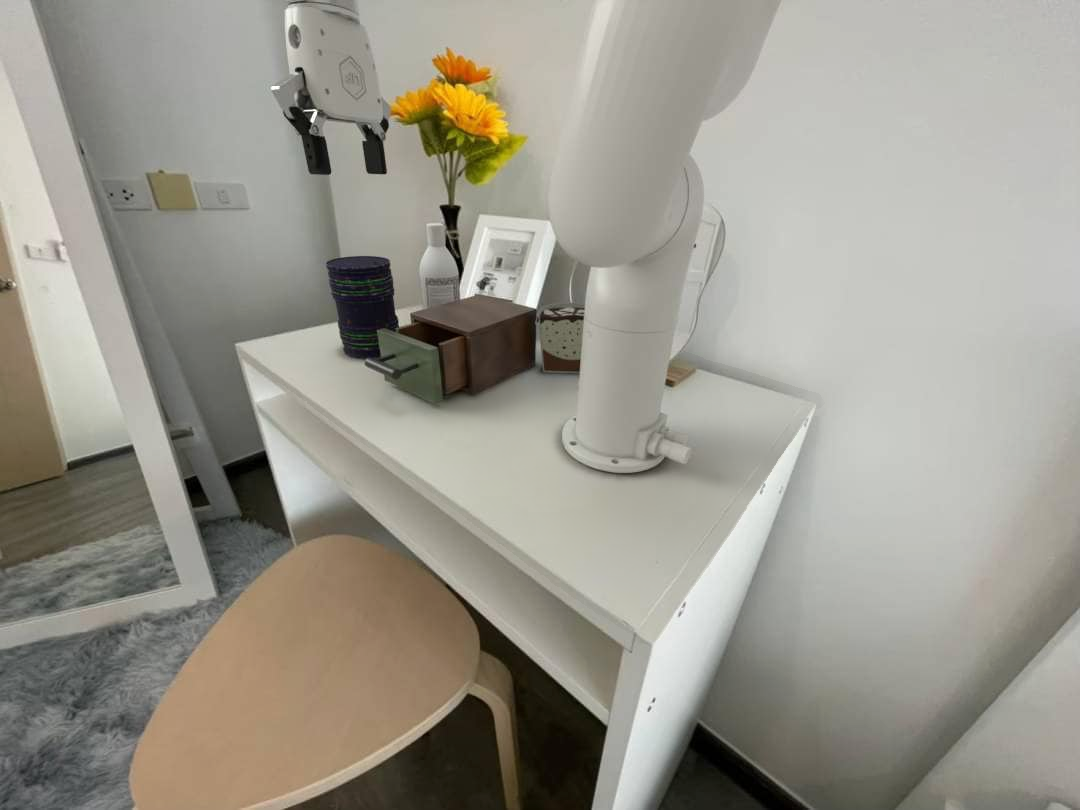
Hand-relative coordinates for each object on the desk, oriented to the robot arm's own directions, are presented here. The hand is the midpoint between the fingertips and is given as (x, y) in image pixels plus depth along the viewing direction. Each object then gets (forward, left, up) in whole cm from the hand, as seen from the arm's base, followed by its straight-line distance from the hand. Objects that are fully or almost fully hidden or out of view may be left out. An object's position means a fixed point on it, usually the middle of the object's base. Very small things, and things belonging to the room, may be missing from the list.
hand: (350, 174), depth 58 cm
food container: (-23, -21, -28) cm, 42 cm away
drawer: (-12, -1, -27) cm, 29 cm away
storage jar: (+8, -4, -28) cm, 29 cm away
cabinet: (-12, -10, -28) cm, 32 cm away
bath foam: (+4, -17, -28) cm, 33 cm away
